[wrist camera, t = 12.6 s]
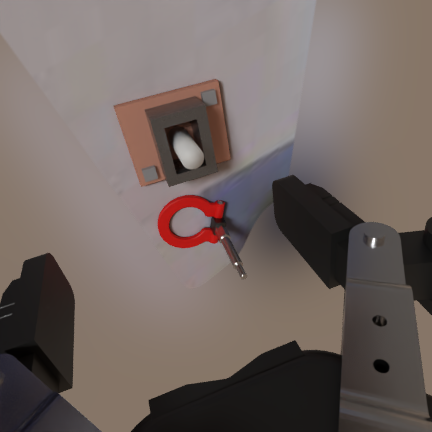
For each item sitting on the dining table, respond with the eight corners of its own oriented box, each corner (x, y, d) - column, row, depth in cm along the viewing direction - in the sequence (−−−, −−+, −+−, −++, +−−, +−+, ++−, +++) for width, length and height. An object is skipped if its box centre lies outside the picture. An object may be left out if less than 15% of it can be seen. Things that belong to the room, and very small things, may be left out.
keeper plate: (113, 105, 38) (119, 128, 31) (215, 79, 40) (240, 95, 33) (140, 183, 44) (149, 215, 37) (227, 156, 46) (251, 183, 39)
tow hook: (155, 244, 50) (215, 242, 53) (168, 309, 39) (243, 303, 42) (159, 192, 46) (224, 194, 49) (175, 250, 35) (258, 247, 38)
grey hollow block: (144, 109, 38) (149, 120, 35) (195, 95, 39) (205, 104, 36) (162, 172, 43) (169, 186, 40) (208, 158, 44) (217, 171, 41)
